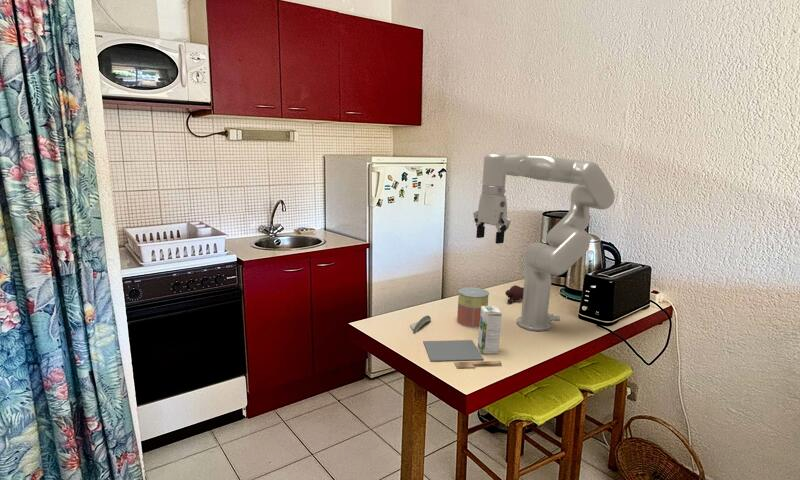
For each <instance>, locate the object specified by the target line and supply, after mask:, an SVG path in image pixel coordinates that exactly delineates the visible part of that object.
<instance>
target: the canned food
mask: <svg viewBox="0 0 800 480" xmlns="http://www.w3.org/2000/svg"><path fill="white" fill-rule="evenodd" d="M489 294H490V293H489V291H488V290H486V289H484V288H481V287H475V286H474V287H473V286H468V287H467V286H466V287H462V288H460V289H458V301H457V316H456V317H457V318H456V322H457V323H458V324H459V325H461V326H462V327H466V328H476V329H477V328H478V329H479V324H480V313H481V306H489V296H490V295H489Z"/></svg>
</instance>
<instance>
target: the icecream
mask: <svg viewBox="0 0 800 480" xmlns="http://www.w3.org/2000/svg"><path fill="white" fill-rule="evenodd" d="M523 292H524V286H523V287H521V286H520V285H516V284H515V285H513V286H511V287H510V288H509V289H507V290H505V295H506V296H507V298H508V299H507V304H509V305H510V304H512V303H513V302H515V301H516V302H517V301H521V300H522V301H523Z"/></svg>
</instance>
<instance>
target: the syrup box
mask: <svg viewBox="0 0 800 480" xmlns="http://www.w3.org/2000/svg"><path fill="white" fill-rule="evenodd" d="M502 315H503V313H502V311H501V309H499V307H498V306H495V305H494V306H493V305H488V306H481V313H480V324H479V327H478V337H477V349H478V350H479V352H480V354H481V355H484V354H485V355H488V354H489V355H490V354H491V355H492V354H493V355H494V354H499V350H500V349H499V348H500V338H501V328H502V327H501V326H502V317H503V316H502Z"/></svg>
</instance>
